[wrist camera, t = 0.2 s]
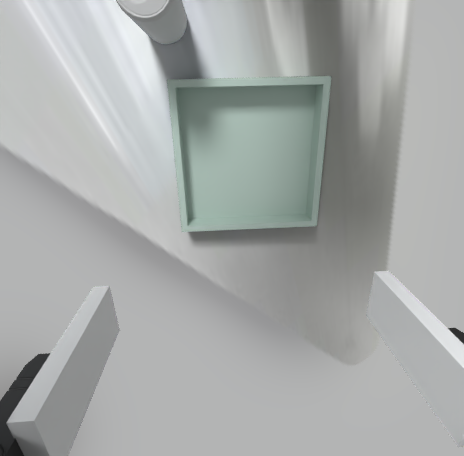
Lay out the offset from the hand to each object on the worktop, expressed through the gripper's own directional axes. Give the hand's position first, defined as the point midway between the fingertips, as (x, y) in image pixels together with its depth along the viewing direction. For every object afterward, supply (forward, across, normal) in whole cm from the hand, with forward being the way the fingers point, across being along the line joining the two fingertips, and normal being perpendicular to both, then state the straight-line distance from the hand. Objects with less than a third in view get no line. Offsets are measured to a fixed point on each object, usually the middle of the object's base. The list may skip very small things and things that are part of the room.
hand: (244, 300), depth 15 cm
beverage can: (+28, -6, +17) cm, 33 cm away
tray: (+27, +3, +2) cm, 28 cm away
